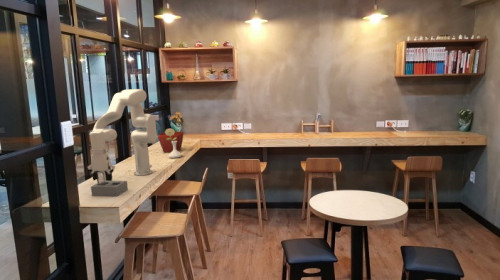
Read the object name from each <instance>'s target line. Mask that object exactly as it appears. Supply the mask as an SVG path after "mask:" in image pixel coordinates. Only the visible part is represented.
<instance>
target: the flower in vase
mask: <svg viewBox="0 0 500 280" xmlns="http://www.w3.org/2000/svg"><path fill="white" fill-rule="evenodd" d="M164 132H165V134H166V135H167V136H168V135H169V136H170V137H171V135H174V133H175V132H176V131H175V129H174V128H166V129H165V131H164ZM176 138H177V137H176ZM176 138H174V139H173V140H175V139H176ZM170 139H171V138H167V139H166V140H170ZM171 142H172V144H173V151H172V152H169V154H168V157H169V158H170V159H171V158H172V159H176V158H181V157H182V156H183V154H182V153H181V152H180V150H179V151H177V150H176V142H177V141H171Z"/></svg>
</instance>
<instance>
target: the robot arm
mask: <svg viewBox="0 0 500 280" xmlns="http://www.w3.org/2000/svg"><path fill="white" fill-rule="evenodd" d="M146 99H147V92H146V91H145V90H144V89H142V88H135V89H130V88H129V89H123V90H121V91H120V92H117V93H114V95H113V96H112V100H111V101H110V105H109V107H108V109H107V112H105V113H104V114H103V115H102V116H100V118H98V119H97V121H96V122H95V124H94V126H93V128H92V131H91V132H89V137H90V138H89V139H90V144H91V152H92V153H91V161H90V162H91V164H89V165H87V170H88V171H89V172H90V174H91V175H92V179H93V181H97V173H96V171H106V172H107V173H108V180H109V181H110V180H112V181H113V172H115V168H116V166H115V165H113V164H111V158H110V155H109V153H108V152H109V150H108V149H107V148H106V142H112V141H114V140H115V139H117V137H118V134H117V133H118V132H117V131H116V130H115V129H114V128H106V127H107V126H108V125H109V124H111V123H114V122H116V121H117V120H120V119H121V118H122V116H123V113H124V111H125V108H126V107H127V106H128V107H129V111H130V117H131V123H132V124H131V125H132V126H133V127H134V128H138V129H134V130H133V131H132V132H131V134H130V139H131V142H132V144H133V153H134V163H135V171H134V172H133V175H134V176H139V177H140V176H148V175H151V174H152V173H153V169H151V168H152V164H151V163H150V154H149V148H148V145H147V144H154V143H156V140H157V138H158V135H157V127H156V124H157V123H156V118H155V117H154V115H153V114H151V113H145V112H144V106H143V104H142V103H144V102H145V101H146ZM139 128H141V129H139ZM145 128H146V129H145Z"/></svg>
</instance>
